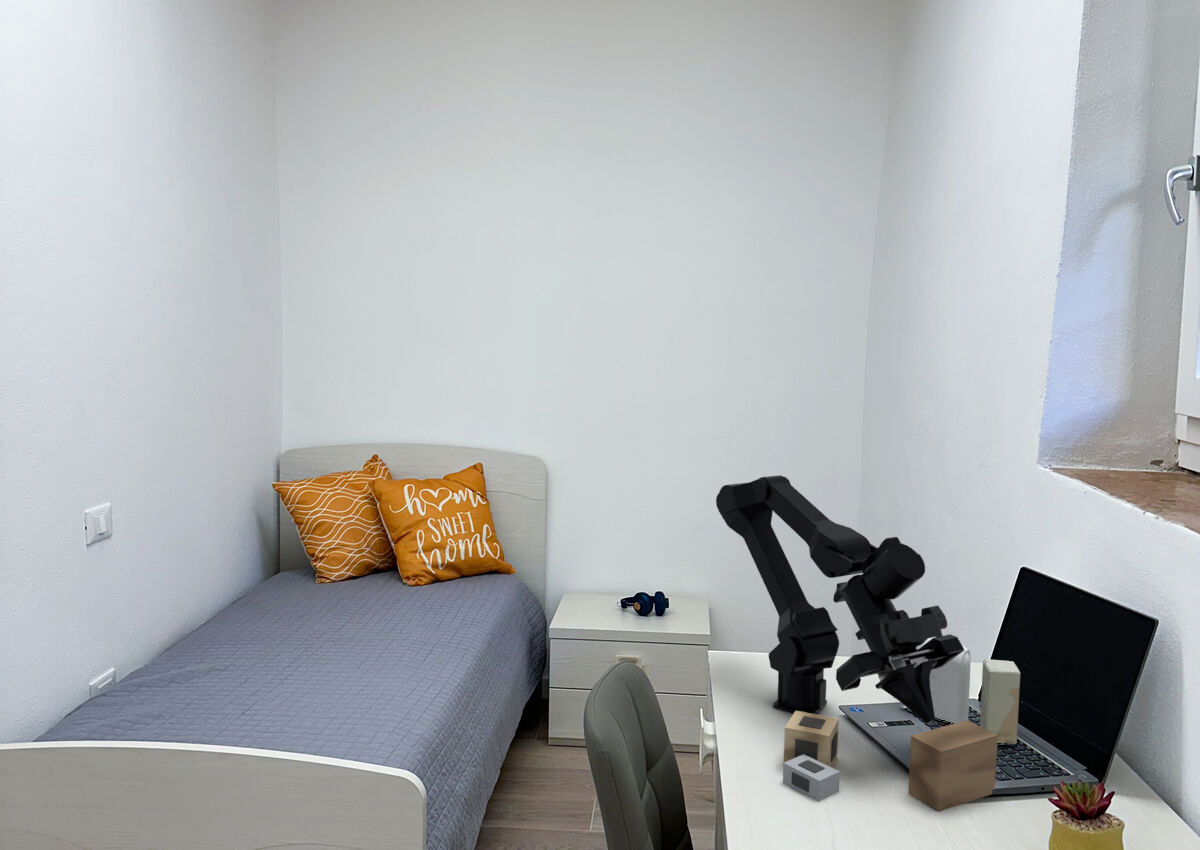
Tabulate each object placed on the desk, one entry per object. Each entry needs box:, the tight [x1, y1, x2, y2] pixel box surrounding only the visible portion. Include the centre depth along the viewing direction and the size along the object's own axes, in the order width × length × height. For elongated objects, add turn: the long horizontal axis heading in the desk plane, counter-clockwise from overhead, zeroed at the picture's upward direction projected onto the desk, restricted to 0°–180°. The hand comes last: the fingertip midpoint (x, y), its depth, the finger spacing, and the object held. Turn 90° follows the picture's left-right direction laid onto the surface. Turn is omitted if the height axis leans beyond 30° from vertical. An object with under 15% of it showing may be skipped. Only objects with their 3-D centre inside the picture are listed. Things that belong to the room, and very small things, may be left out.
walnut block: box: [907, 719, 998, 813], centre depth 126 cm, size 5×10×8 cm, turn 118°
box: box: [979, 658, 1021, 744], centre depth 142 cm, size 5×4×11 cm
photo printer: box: [900, 637, 972, 724], centre depth 150 cm, size 10×4×12 cm, turn 47°
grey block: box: [782, 754, 841, 802], centre depth 128 cm, size 6×4×3 cm
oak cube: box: [783, 711, 840, 768], centre depth 134 cm, size 6×6×6 cm
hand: (931, 721), depth 129 cm, fingers closed
